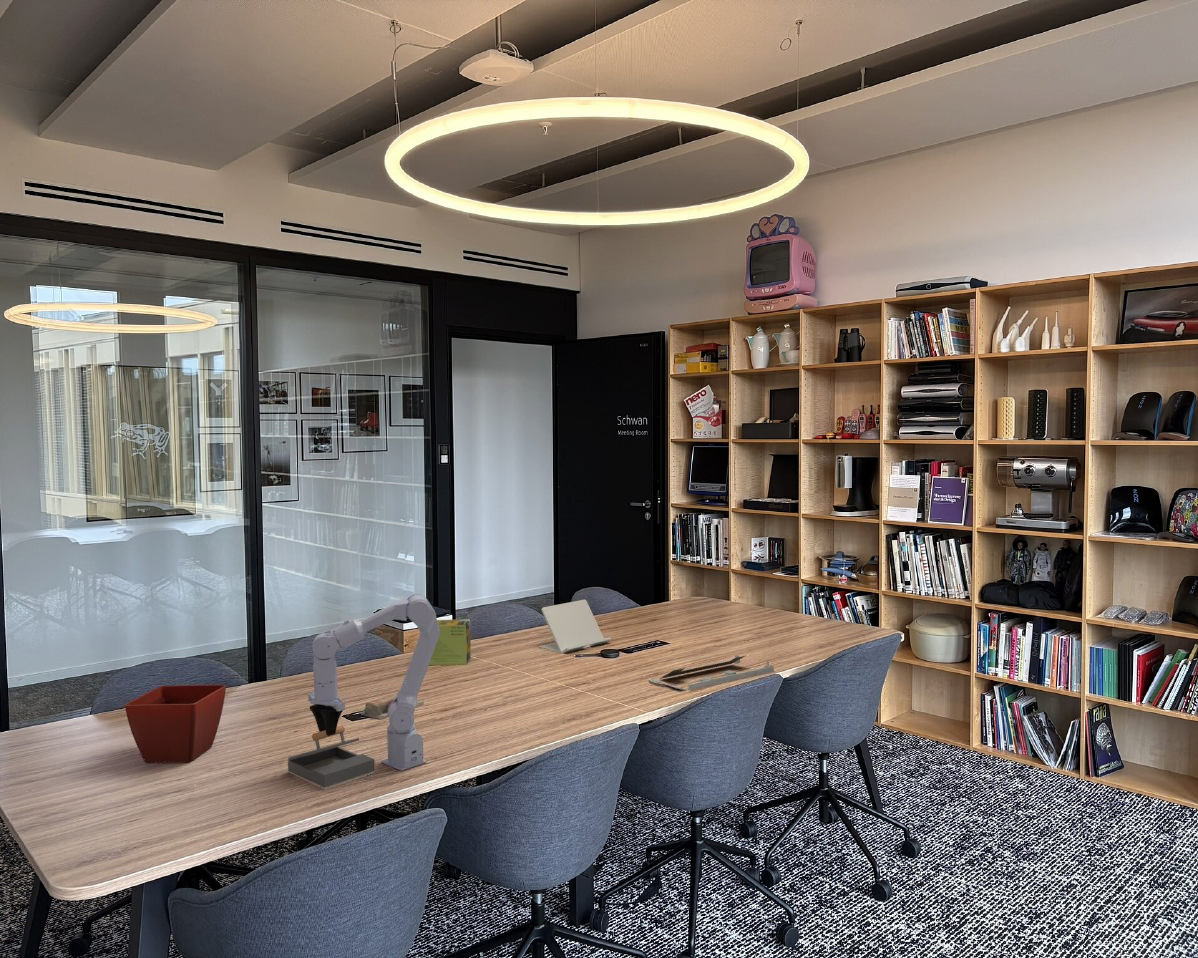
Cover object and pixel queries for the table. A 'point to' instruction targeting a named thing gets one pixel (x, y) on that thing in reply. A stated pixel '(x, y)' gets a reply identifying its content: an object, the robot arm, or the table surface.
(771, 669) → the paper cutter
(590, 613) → the tablet stand
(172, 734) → the plant pot
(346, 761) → the charcoal shallow open tray
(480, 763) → the table surface
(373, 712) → the packaged product
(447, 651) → the protein box
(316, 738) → the grill press
